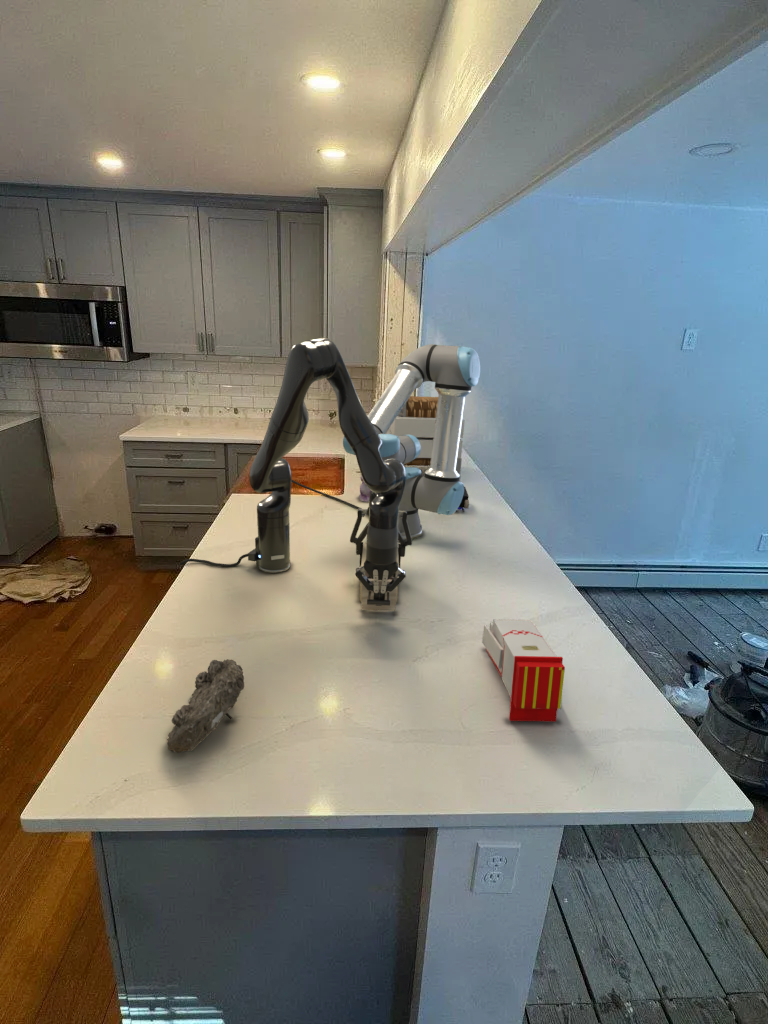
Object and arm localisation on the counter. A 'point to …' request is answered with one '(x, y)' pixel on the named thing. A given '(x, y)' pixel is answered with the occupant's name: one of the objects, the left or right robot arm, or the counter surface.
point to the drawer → (370, 604)
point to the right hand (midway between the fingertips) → (379, 565)
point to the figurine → (364, 491)
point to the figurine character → (464, 501)
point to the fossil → (206, 705)
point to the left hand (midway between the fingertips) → (378, 604)
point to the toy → (526, 669)
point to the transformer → (421, 428)
